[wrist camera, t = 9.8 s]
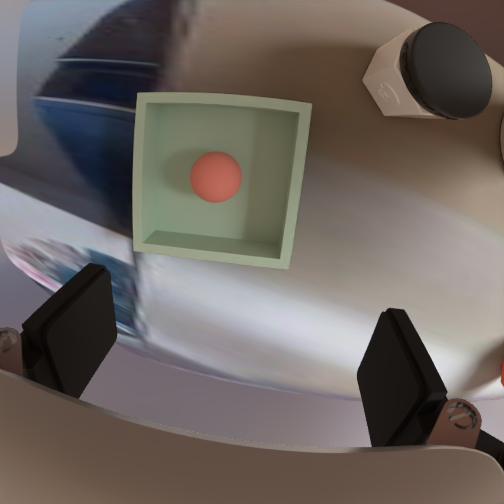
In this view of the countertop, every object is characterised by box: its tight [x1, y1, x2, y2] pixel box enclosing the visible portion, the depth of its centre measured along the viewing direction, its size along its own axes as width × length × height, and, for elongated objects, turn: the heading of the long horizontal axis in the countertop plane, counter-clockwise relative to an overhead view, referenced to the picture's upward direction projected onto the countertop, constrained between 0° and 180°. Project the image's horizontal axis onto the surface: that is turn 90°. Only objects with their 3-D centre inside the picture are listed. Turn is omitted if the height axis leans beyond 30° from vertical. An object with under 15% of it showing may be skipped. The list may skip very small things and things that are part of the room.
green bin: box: [133, 92, 312, 270], centre depth 30 cm, size 16×16×5 cm
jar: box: [362, 22, 492, 120], centre depth 22 cm, size 9×8×12 cm
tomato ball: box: [190, 152, 242, 203], centre depth 30 cm, size 5×5×5 cm
